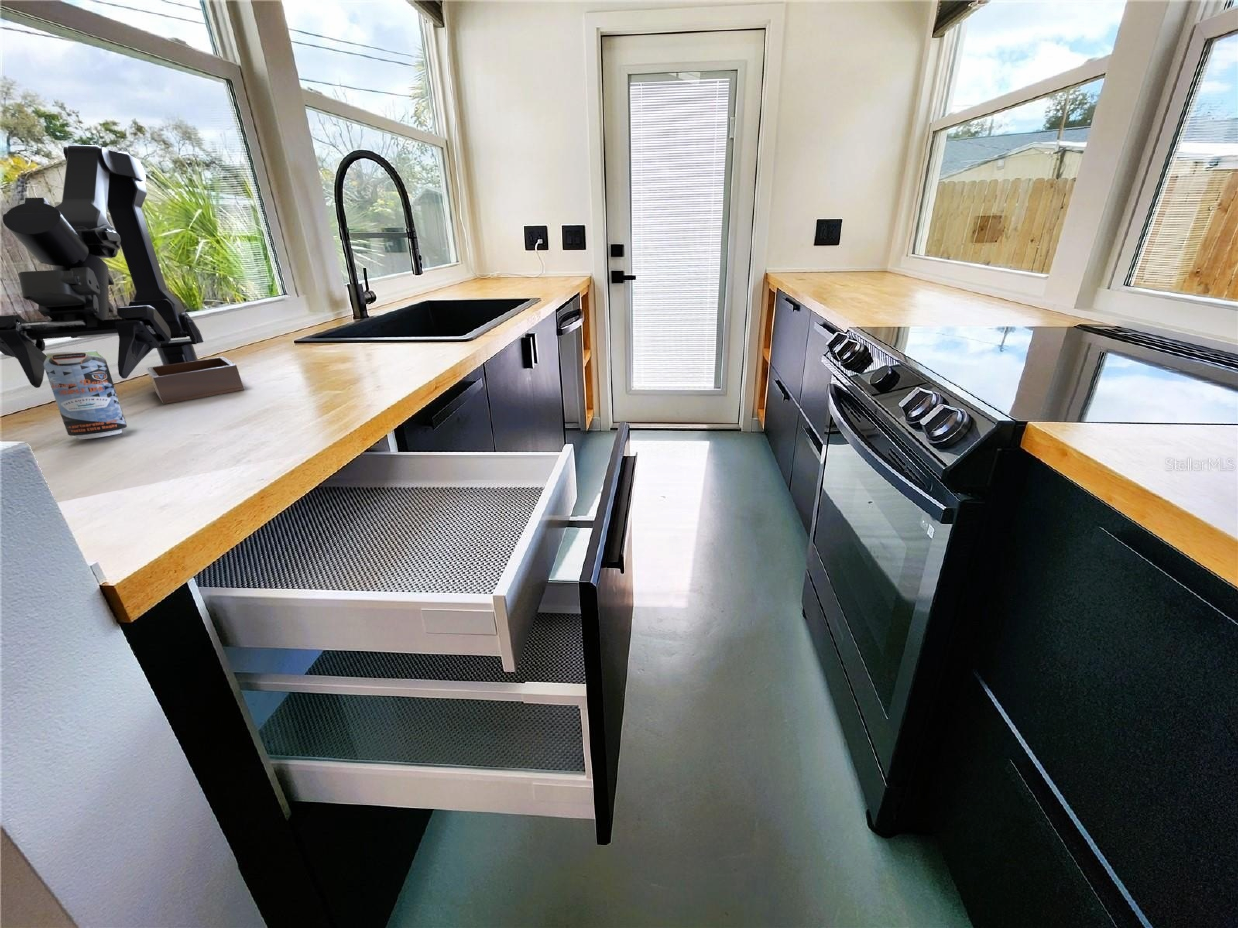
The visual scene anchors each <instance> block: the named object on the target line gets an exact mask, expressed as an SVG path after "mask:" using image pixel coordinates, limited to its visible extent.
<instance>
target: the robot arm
mask: <svg viewBox="0 0 1238 928" xmlns="http://www.w3.org/2000/svg"><path fill="white" fill-rule="evenodd" d="M62 151H63V156H64V159H65V161H66V164H65V173H64V180H63V181H64V182H63V190H62V196H61V197H62V198H61V202H60V203H59V204H57V205H56V206H53V205H51V204H50V203H49V201H48V200H47V198H45V197H24V202H23V203H21V204H17V205H15V206H14V207H13V206H12V207H11V208H10V209H9V210H7V212H6V213H4V214H2V223H3V225H4V226H5V227H6V228H7V230H9V232H10V233H11V234H12V235H13V236H14V237H15V238H16V240H18V241H19V242H20V243H21V244H22V245H23V247H25V248H26V249H27V251H28V252H29V253H30V254H31V255H32V256H33V257H34V258H35V259H36V260H37V261H38V262H39V263H40V264H44V265H47V266H48V265H49V266H52V269H49V270H31V271H30V270H29V271H28V270H27V271H19V272H18V280H19V284H20V285H19V286H20V290H21V294H22V298H23V299H24V300H26V301H30V302H33V303H34V304H36V305H38V308H37V310H38V311H37V312H39V314H41V315H42V316H43V317H44V318H45V317H49V318H50V321H42V322H28V321H26V319H25V318H24V317H22V316H21V315H20V314H19V313H15V314H0V353H1V354H3V355H4V356H8V357H12V358H14V359H16V360H17V361H18V363H19V364H20V366H21V368H22V370H23V372H24V374H25V376H26V378H27V380H28V382H29V384H30V385H32V387H34V388H35V389H39V388H41V386H42V383H43V381H44V375H45V368H44V361H45V360H46V358H47V355H46V353H44V351H45V350H46V342H45V340H49V339H61V338H62V339H64V338H70V339H77V338H78V339H88V338H100V337H101V338H102V337H111V336H118V352H117V370H118V376H119V377H120V378H121V379H123V380H124V379H127V378H128V377H129V376H130V375H131V374H132V372H133V371H134V370H135V369H136V367H137V366H138V365H139V364H140V362H141V361H142V360H144V358H145V357H146V356H147V355H148V354H149V353H151V352H152V350H154V349H156V351H157V353H158V355H159V358H160V361H161V364H162V365H169V364H175V363H182V362H189V361H196V360H199V359H198V355H197V352H196V350H195V347H194V345H197V344H198V345H199V344H202V343H203V344H204V339H203V335H202V333H201V331H200V329H199V328H198V326H197V324H196V323H195V321H194V320H193V319H192V318H191V316H190V315H189V313H187V312H186V310H185V308H184V304H182V302H180V301H179V300H178V299H177V298H176V297H175V296H173V294H172V293H171V292H169V290H168V288H167V285H166V282H165V279H164V275H163V273H162V269H161V267H160V263H159V259H158V257H157V254H156V250H155V248H154V245H153V242H152V237H151V235H150V231H149V229H148V225H147V222H146V220H145V216H144V214H143V213H144V212H143V210H142V207H143V205H144V202H145V200H146V197H147V195H148V190H147V187H146V184H145V183H146V181H147V176H146V172H145V169H144V167H143V165H142V163H141V162H140V160H139V159H137V158H136V157H134V156H133V155H131V154H129V153H128V152H127V151H114V150H110V149H107V148H105V147H101V146H99V145H93V144H92V145H88V144H87V145H86V144H85V145H84V144H69V145H67V146H63V149H62ZM107 213H108V214H109V215H110V219H111V222H112V225H113V226H112V225H111V224H110V222H109V221H108V218H107ZM120 249H121V251H122V254H123V258H124V261H125V263H126V266H127V269H128V273H129V275H130V278H131V281H132V285H133V286H134V290H135V293H134V297H133V298H132V300H130V301H129V302H128V306H120V307H117V308H116V315H117V316H118V318H110V313H111V314H112V313H114V312H115V311H114V308H115V307H114V306H113V305H112V303H111V302H110V301H109V300H110V299H109V297H110V295H109V294H110V293H109V291H110V290H109V288H110V287H109V286H114V285H115V281H114V280H113V277H112V276H111V274H109V266H108V264H107V262H105V261H104V260H103V259H113V258H115V259H116V257H117V255H118V252H119V251H120ZM188 337H189V338H188Z"/></svg>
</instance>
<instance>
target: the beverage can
mask: <svg viewBox="0 0 1238 928" xmlns="http://www.w3.org/2000/svg"><path fill="white" fill-rule="evenodd" d="M45 355H46V356H47V358H46V360H45V361H44V368H45V370H44V372H45V373H46V377H47V380H48V382H49V385H50V388H51V391H52V393H53V396H54V399H55V402H56V405H57V407H58V410H59V413H60V416H61V419H62V423H63V425H64V428H65V431H66V434H67V435H68V436H70V437H76V439H77V440H90V439H97V438H103V437H109V436H115V435H119V434H122V433H123V430H124V429H126V428H127V427H128V425H127V422H126V418H125V415H124V412H123V408H122V405H121V402H120V399H119V397H118V393H117V390H116V387H115V384H114V381H113V378H112V375H111V371H110V369H109V365H108V362H107V360H106V358H104V357H103V356H102V355H101V354H100V353H99V352H98V350H97V349H88V350H71V351H60V352H59V351H57V352H47V353H45Z"/></svg>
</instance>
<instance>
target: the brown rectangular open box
mask: <svg viewBox="0 0 1238 928" xmlns="http://www.w3.org/2000/svg"><path fill="white" fill-rule="evenodd" d="M146 370H147V374H148V376H149V378H150V380H151V383H152V386H153V388H154V391H155V394H156V395H157V396H158V398H159V399H160V401H161V403H162V404H163V405H168V404H174V403H179V402H185V401H191V400H195V399H201V398H207V397H211V396H216V395H217V396H218V395H222V394H223V395H224V394H229V393H233V392H240V391H244V390H245V388H244V384H243V382H242V379H241V375H240V372H239V369H238V366H237V364H235V363H234V362H232V361H231V360H230V359H228V358H226V357H225V356H217V357H210V358H204V359H198V360H196V361H189V362H182V363H175V364H169V365H163V364H162V365H154V366H149V367H146Z"/></svg>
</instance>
